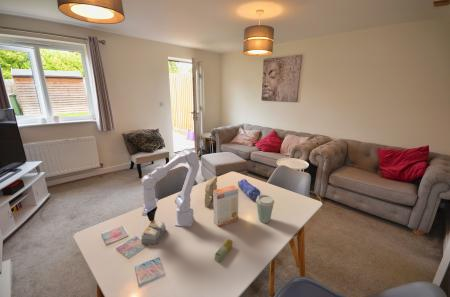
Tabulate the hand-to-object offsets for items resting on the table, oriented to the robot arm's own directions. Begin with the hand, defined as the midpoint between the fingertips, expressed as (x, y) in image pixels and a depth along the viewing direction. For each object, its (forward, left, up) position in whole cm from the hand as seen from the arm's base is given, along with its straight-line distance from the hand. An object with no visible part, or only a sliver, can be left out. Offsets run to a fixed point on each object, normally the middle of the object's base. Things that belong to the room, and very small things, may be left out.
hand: (151, 220), depth 109 cm
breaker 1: (-2, 0, -2) cm, 3 cm away
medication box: (-41, +11, -8) cm, 43 cm away
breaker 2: (-2, +6, -2) cm, 7 cm away
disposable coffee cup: (-62, -17, -8) cm, 65 cm away
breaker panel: (-2, +3, -7) cm, 8 cm away
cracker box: (-39, -14, -8) cm, 42 cm away
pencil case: (-53, -51, -8) cm, 74 cm away
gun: (-26, -40, -8) cm, 49 cm away
